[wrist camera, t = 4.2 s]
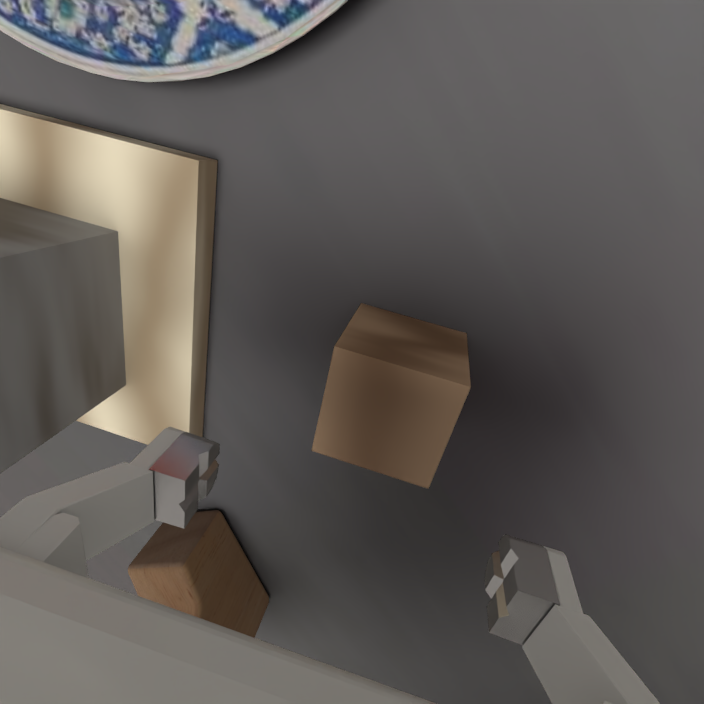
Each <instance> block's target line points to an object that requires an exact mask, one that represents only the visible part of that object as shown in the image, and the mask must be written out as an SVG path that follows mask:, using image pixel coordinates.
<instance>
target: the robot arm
mask: <svg viewBox="0 0 704 704" xmlns="http://www.w3.org/2000/svg"><path fill="white" fill-rule="evenodd" d="M219 453H220V444H219V443H217V442H214V441H211V440H209V439H206V438H203V437H200V436H197V435H194V434H191V433H188V432H185V431H182V430H179V429H176V428H173V427H168V428H165V429H164V430H163V431H162V432H161V433H160V434H159V435H158V436H157V437H156V438H155V439H154V440H153V441H152V442H151V443H150V444H149V445H148V446H147V447H146V448H144V449H143V450H142V451H141V452H140V453H139V454H138V455H137V456H136V457H135V458H134V459H133V460H132V461H131V462H130V463H126V462H123V463H120V464H117V465H115V466H112V467H109V468H106V469H103V470H101V471H98V472H95V473H92V474H89V475H86V476H84V477H81V478H78V479H75V480H72V481H70V482H67V483H64V484H61V485H58V486H56V487H53V488H50V489H47V490H44V491H41V492H39V493H36V494H33V495H30V496H27V497H25V498H24V499H23V500H21V501H20V502H19V503H18V504H16V505H15V506H14V507H13V508H12V509H10V510H9V511H8V512H7V513H6V514H4V515H3V516H2V517H1V518H0V704H436V703H434V702H431V701H428V700H425V699H423V698H420V697H417V696H414V695H411V694H409V693H406V692H403V691H400V690H398V689H395V688H392V687H389V686H386V685H384V684H381V683H378V682H375V681H373V680H370V679H367V678H364V677H362V676H359V675H356V674H353V673H350V672H348V671H345V670H342V669H339V668H337V667H334V666H331V665H328V664H326V663H323V662H320V661H317V660H314V659H312V658H309V657H306V656H303V655H301V654H298V653H295V652H292V651H290V650H287V649H284V648H281V647H278V646H276V645H273V644H270V643H267V642H265V641H262V640H259V639H256V638H253V637H251V636H248V635H245V634H242V633H240V632H237V631H234V630H231V629H228V628H226V627H223V626H220V625H217V624H215V623H212V622H209V621H206V620H204V619H201V618H198V617H195V616H192V615H190V614H187V613H184V612H181V611H179V610H176V609H173V608H170V607H167V606H165V605H162V604H159V603H156V602H154V601H151V600H148V599H145V598H142V597H140V596H137V595H134V594H131V593H129V592H126V591H123V590H120V589H117V588H115V587H112V586H109V585H106V584H104V583H101V582H98V581H95V580H92V579H90V578H89V575H88V569H87V563H86V561H87V560H89V559H91V558H93V557H94V556H96V555H98V554H99V553H101V552H103V551H105V550H106V549H108V548H110V547H111V546H113V545H115V544H117V543H118V542H120V541H122V540H124V539H125V538H127V537H129V536H130V535H132V534H134V533H136V532H137V531H139V530H141V529H142V528H144V527H146V526H148V525H149V524H151V523H153V522H154V520H157V521H161V522H164V523H167V524H170V525H174V526H177V527H180V528H183V529H184V528H185V527H186V525H187V524H188V523H189V521H190V520H191V518H192V517H193V515H194V514H195V513H196V511H197V510H198V501H199V500H201V499H203V498H205V497H207V495H208V494H209V492H210V491H211V489H212V487H213V485H214V483H215V480H216V478H217V474H218V467H219V464H218V463H217V461H216V460H215V459H216V457H217V456H218V455H219ZM498 545H499V551H497V552H494V553H492V554H491V556H490V558H489V560H488V562H487V566H486V570H485V590H486V592H487V593H488V595H489V596H490V598H491V600H490V602H489V603H488V605H487V616H488V627H489V633H491V634H494V635H496V636H499V637H502V638H505V639H507V640H510V641H513V642H515V643H518V644H521V645H523V646H522V648H523V650H524V652H525V654H526V656H527V658H528V659H529V661H530V663H531V665H532V667H533V669H534V671H535V673H536V674H537V676H538V678H539V680H540V682H541V684H542V686H543V688H544V689H545V691H546V693H547V695H548V697H549V699H550V701H551V703H552V704H660V703H659V702H658V700H657V699H656V698H655V697H654V695H653V694H652V693H651V692H650V690H649V689H648V688H647V687H646V685H645V684H644V683H643V682H642V681H641V679H640V678H639V677H638V676H637V674H636V673H635V672H634V671H633V669H632V668H631V667H630V666H629V664H628V663H627V662H626V661H625V659H624V658H623V657H622V656H621V654H620V653H619V652H618V651H617V650H616V648H615V647H614V646H613V645H612V643H611V642H610V641H609V640H608V638H607V637H606V636H605V635H604V633H603V632H602V631H601V630H600V628H599V627H598V626H597V625H596V623H595V622H594V621H593V620H592V619H591V617H590V616H588V615H586V614H583V611H582V608H581V604H580V601H579V598H578V594H577V591H576V587H575V584H574V581H573V577H572V574H571V571H570V567H569V564H568V561H567V557H566V555H565V554H564V553H563V552H561V551H558V550H555V549H552V548H549V547H545V546H542V545H539V544H536V543H533V542H529V541H526V540H523V539H520V538H516V537H513V536H510V535H507V534H505V535H504V536H502V537H501V539H500V541H499V542H498Z"/></svg>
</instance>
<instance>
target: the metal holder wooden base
mask: <svg viewBox="0 0 704 704" xmlns="http://www.w3.org/2000/svg"><path fill="white" fill-rule="evenodd" d="M217 162H218V160H214V159H210V158H207V157H203V156H199V155H195V154H191V153H187V152H183V151H180V150H176V149H172V148H168V147H164V146H160V145H156V144H153V143H149V142H145V141H141V140H137V139H133V138H129V137H126V136H122V135H118V134H114V133H110V132H106V131H103V130H99V129H95V128H91V127H87V126H83V125H79V124H76V123H72V122H68V121H64V120H60V119H56V118H52V117H49V116H45V115H41V114H37V113H33V112H29V111H25V110H22V109H18V108H14V107H10V106H6V105H2V104H0V473H2V472H3V471H5V470H6V469H7V468H9V467H10V466H12V465H13V464H15V463H16V462H17V461H19V460H20V459H22V458H23V457H25V456H26V455H27V454H29V453H30V452H32V451H33V450H35V449H36V448H37V447H39V446H40V445H42V444H43V443H44V442H46V441H47V440H49V439H50V438H52V437H53V436H54V435H56V434H57V433H59V432H60V431H62V430H63V429H64V428H66V427H67V426H69V425H70V424H72V423H73V422H74V421H79V422H82V423H85V424H88V425H91V426H94V427H97V428H100V429H103V430H106V431H109V432H112V433H115V434H118V435H121V436H124V437H127V438H130V439H132V440H135V441H138V442H141V443H144V444H147V445H149V444H150V443H151V442H152V441H153V440H154V439H155V438H156V437H157V436H158V435H159V434H160V433H161V432H162V431H163V430H164V429H165V428H168V427H173V428H176V429H179V430H182V431H185V432H188V433H191V434H194V435H197V436H200V437H202V436H203V418H204V400H205V381H206V363H207V345H208V326H209V308H210V290H211V271H212V253H213V235H214V217H215V198H216V180H217Z"/></svg>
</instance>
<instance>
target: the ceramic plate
mask: <svg viewBox="0 0 704 704" xmlns="http://www.w3.org/2000/svg"><path fill="white" fill-rule="evenodd" d="M347 1H348V0H0V30H1V31H2V32H4V33H5V34H7V35H9V36H10V37H12V38H14V39H15V40H17V41H19V42H20V43H22V44H24V45H25V46H27V47H29V48H31V49H33V50H35V51H37V52H39V53H41V54H43V55H45V56H48V57H50V58H52V59H54V60H56V61H58V62H61V63H64V64H67V65H70V66H73V67H76V68H79V69H82V70H85V71H88V72H91V73H94V74H99V75H103V76H107V77H111V78H115V79H122V80H132V81H141V82H170V81H185V80H191V79H198V78H204V77H211V76H214V75H217V74H221V73H224V72H228V71H231V70H235V69H238V68H241V67H244V66H246V65H248V64H251V63H253V62H255V61H257V60H260V59H262V58H264V57H267V56H269V55H271V54H273V53H275V52H277V51H278V50H280V49H282V48H283V47H285V46H287V45H289V44H290V43H292V42H294V41H295V40H297V39H299V38H300V37H302V36H304V35H305V34H307V33H308V32H309V31H311V30H312V29H313V28H315V27H316V26H317V25H319V24H320V23H321V22H323V21H324V20H325V19H327V18H328V17H329V16H331V15H332V14H333V13H335V12H336V11H337V10H338V9H339V8H340V7H342V6H343V5H344V4H345V3H346V2H347Z"/></svg>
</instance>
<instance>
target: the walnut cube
mask: <svg viewBox="0 0 704 704" xmlns="http://www.w3.org/2000/svg"><path fill="white" fill-rule="evenodd" d="M470 388H471V382H470V370H469V357H468V345H467V333H464V332H460V331H457V330H453V329H450V328H446V327H443V326H440V325H436V324H433V323H429V322H426V321H422V320H419V319H415V318H412V317H408V316H405V315H401V314H398V313H394V312H391V311H387V310H384V309H380V308H377V307H373V306H370V305H366V304H363V303H361V304H360V306H359V307H358V309H357V311H356V312H355V314H354V315H353V317H352V319H351V320H350V322H349V324H348V325H347V327H346V328H345V330H344V332H343V333H342V335H341V336H340V338H339V340H338V341H337V343H336V345H335V346H334V350H333V355H332V359H331V364H330V369H329V373H328V378H327V382H326V387H325V391H324V396H323V400H322V405H321V410H320V414H319V419H318V423H317V428H316V432H315V437H314V441H313V446H312V451H314V452H317V453H320V454H323V455H326V456H329V457H332V458H335V459H339V460H342V461H345V462H348V463H351V464H354V465H357V466H360V467H363V468H366V469H369V470H372V471H375V472H378V473H381V474H384V475H388V476H391V477H394V478H397V479H400V480H403V481H406V482H409V483H412V484H415V485H418V486H421V487H424V488H427V489H428V488H429V486H430V484H431V481H432V479H433V476H434V474H435V472H436V469H437V467H438V464H439V462H440V460H441V457H442V455H443V453H444V450H445V448H446V445H447V443H448V441H449V438H450V436H451V433H452V431H453V429H454V426H455V424H456V421H457V419H458V417H459V414H460V412H461V410H462V407H463V405H464V402H465V400H466V398H467V395H468V393H469V390H470Z"/></svg>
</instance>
